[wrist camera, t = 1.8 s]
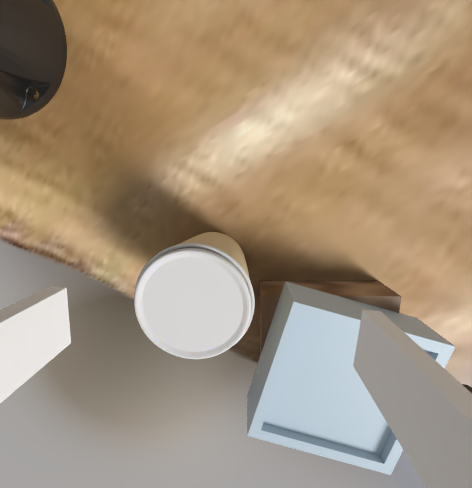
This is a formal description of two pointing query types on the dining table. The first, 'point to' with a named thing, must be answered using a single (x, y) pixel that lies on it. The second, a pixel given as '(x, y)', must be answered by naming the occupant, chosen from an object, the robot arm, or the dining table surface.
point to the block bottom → (352, 290)
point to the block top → (325, 380)
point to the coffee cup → (196, 297)
